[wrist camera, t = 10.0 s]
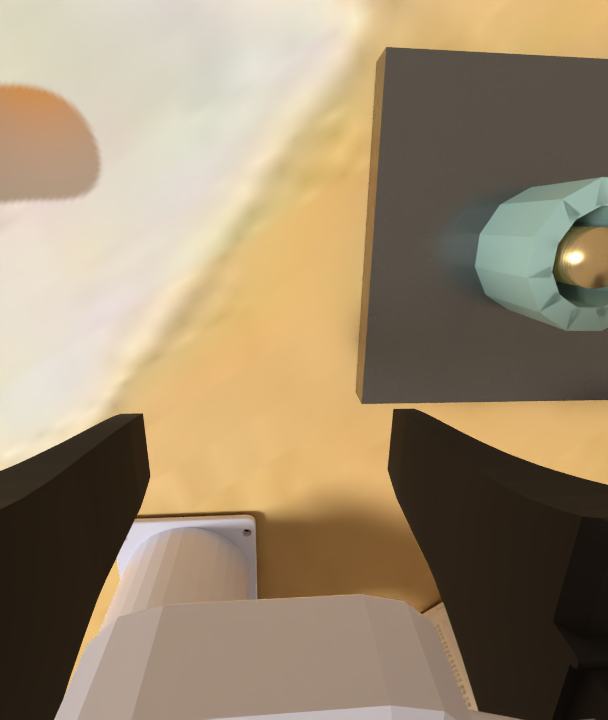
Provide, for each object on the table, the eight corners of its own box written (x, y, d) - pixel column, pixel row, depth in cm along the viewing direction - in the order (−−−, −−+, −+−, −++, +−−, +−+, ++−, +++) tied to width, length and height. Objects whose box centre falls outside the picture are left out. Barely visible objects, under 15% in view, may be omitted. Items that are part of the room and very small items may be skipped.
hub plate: (616, 388, 23) (718, 437, 18) (355, 392, 22) (382, 444, 16) (705, 78, 18) (881, 19, 13) (376, 62, 17) (423, -11, 12)
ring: (604, 274, 19) (686, 286, 15) (499, 329, 20) (554, 355, 16) (573, 163, 17) (657, 146, 14) (459, 227, 18) (509, 228, 14)
